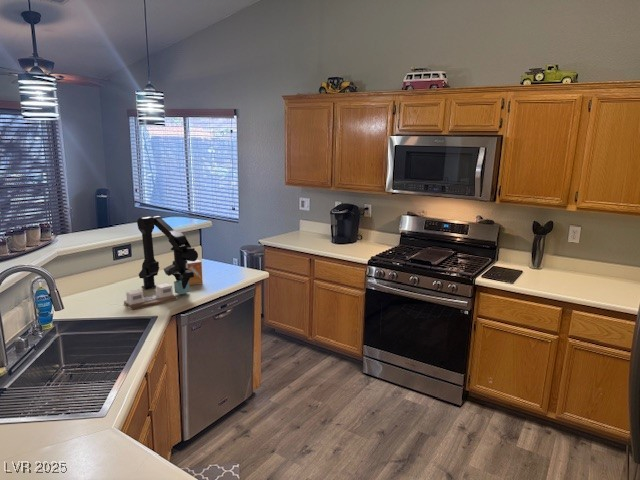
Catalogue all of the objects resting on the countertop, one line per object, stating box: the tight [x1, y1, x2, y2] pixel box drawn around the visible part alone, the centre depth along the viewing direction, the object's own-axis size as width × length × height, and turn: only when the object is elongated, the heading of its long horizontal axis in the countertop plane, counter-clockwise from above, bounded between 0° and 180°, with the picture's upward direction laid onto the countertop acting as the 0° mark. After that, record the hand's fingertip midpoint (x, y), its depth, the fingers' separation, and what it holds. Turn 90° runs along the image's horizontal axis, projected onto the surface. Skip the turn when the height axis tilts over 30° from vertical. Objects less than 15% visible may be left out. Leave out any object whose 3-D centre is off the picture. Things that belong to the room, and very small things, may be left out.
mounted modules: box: [125, 282, 174, 304], centre depth 223 cm, size 6×21×5 cm, turn 133°
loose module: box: [173, 280, 190, 295], centre depth 235 cm, size 5×6×6 cm
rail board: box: [123, 293, 178, 311], centre depth 224 cm, size 12×22×2 cm, turn 132°
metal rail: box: [125, 294, 175, 306], centre depth 224 cm, size 6×22×1 cm, turn 133°
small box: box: [186, 259, 203, 286], centre depth 254 cm, size 8×6×13 cm
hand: (181, 287), depth 235 cm, fingers closed on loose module, 5 cm apart
